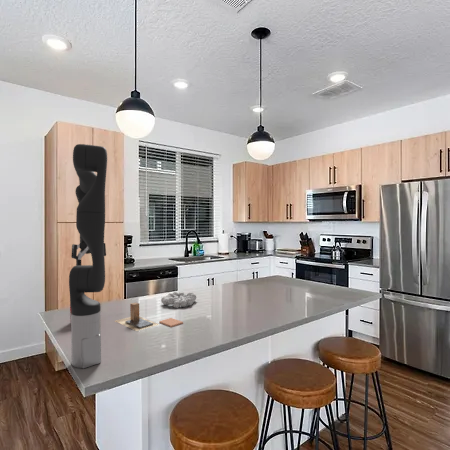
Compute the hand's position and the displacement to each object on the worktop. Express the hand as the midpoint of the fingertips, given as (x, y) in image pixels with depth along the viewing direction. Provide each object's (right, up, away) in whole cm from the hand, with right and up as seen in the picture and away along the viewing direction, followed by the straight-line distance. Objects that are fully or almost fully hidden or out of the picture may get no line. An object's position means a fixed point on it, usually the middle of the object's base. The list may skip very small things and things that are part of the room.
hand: (89, 267), depth 139 cm
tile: (+31, -27, +12) cm, 43 cm away
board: (+18, -28, +9) cm, 35 cm away
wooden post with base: (+20, -27, +8) cm, 35 cm away
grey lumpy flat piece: (+33, -28, +46) cm, 63 cm away
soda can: (-10, -28, +11) cm, 32 cm away
